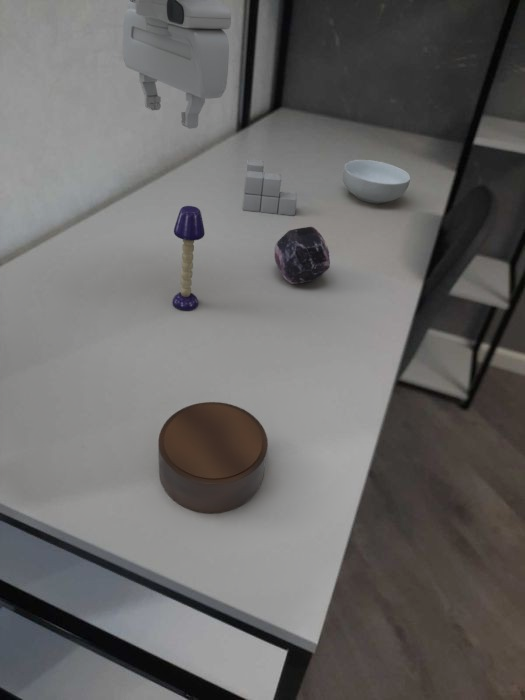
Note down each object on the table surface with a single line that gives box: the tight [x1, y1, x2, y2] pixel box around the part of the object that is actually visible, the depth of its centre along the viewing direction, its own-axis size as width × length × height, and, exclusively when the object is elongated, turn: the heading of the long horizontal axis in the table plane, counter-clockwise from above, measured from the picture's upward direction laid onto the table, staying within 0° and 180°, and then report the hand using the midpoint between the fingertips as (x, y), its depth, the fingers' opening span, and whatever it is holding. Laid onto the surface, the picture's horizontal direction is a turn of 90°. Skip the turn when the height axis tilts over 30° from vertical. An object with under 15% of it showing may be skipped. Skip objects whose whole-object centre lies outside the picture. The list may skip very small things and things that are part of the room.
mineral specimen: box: [273, 226, 331, 285], centre depth 95 cm, size 10×10×10 cm
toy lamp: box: [172, 205, 205, 311], centre depth 82 cm, size 5×5×17 cm
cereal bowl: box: [342, 159, 411, 204], centre depth 132 cm, size 17×17×7 cm
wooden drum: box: [157, 401, 269, 514], centre depth 59 cm, size 12×12×5 cm
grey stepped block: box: [242, 158, 298, 216], centre depth 122 cm, size 12×12×8 cm
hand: (170, 117), depth 74 cm, fingers open, 8 cm apart
